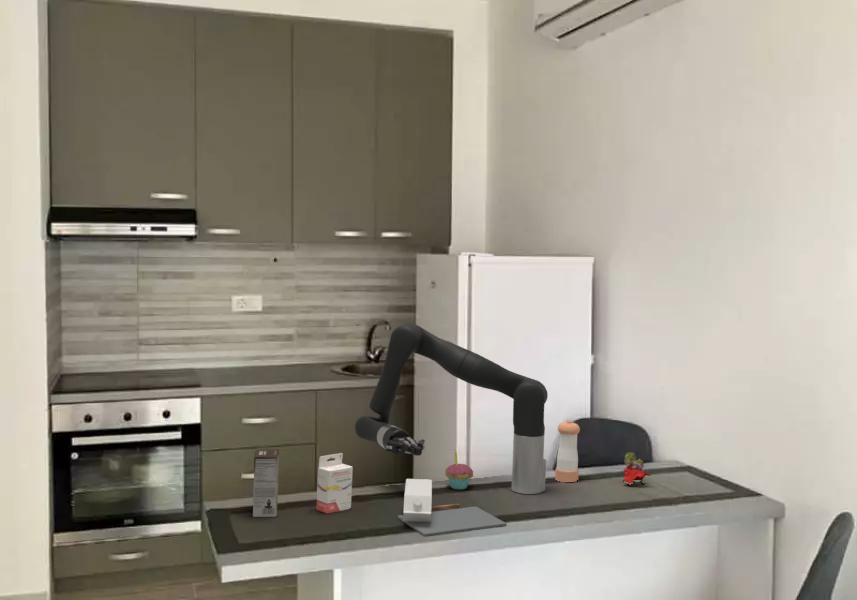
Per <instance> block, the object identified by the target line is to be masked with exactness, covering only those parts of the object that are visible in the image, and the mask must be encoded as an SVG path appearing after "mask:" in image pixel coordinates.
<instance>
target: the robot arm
mask: <svg viewBox="0 0 857 600" xmlns="http://www.w3.org/2000/svg"><path fill="white" fill-rule="evenodd" d="M413 353H414V354H417V355H420V356H422V357H424V358H428V359H430V360H432V361H433V362H435V363H436V364H438V366H440V368H442V369H443V370H445V371H446V372H447V373H449V374H450V375H451V376H453V377H455V378H457V379H459V380H461V381H464V382H465V383H468V384H470V385H472V386H475V387H480V388H483V389H487V390H491V391H496V392H499V393H501V394H504V395H505V396H508V397H510V399H513V406H512V423H513V440H512V441H513V442H512V444H513V445H512V446H513V447H512V466H511V467H512V468H511V470H512V471H511V490H512V491H513V492H515V493H517V494H518V493H519V494H524V495H537V494H540V493H542V492H546V474H547V473H546V472H547V470H546V469H547V459H545V458H544V456H545V455H544V454H545V453H544V452H545V433H546V432H545V431H546V429H545V404H546V402H547V401H548V391H547V388H546V386H545V385H544V383H542V382H541V381H540V380H537V379H534V378H530V377H528V376H525V375H522V374H520V373H517V372H513V371H511V370H509V369H506V368H504V367H503V366H501V365H499V364H498V363H495V362H494V361H492V360H490V359H488V358H486V357H484V356H482V355H480V354H478V353H476V352H474V351H472V350H469V349H466V348H464V347H462V346H460V345H458V344H455V343H452V342H449V341H446V340H445V339H442V338H440V337H438V336H436V335H435V334H433V333H431V332H430V331H428V330H426V329H424V328H423V327H421V326H419V325H417V324H415V323H411V322H409V323H404V324H401V325H399V326H396V328H394V329H393V331H392V332H391V335H390V339H389V343H388V348H387V352H386V357H385V359H384V360H385V361H384V363H383V367H382V371H381V373H380V375H379V379H378V380H377V381H378V382H377V384H376V386H375V389H374V391H373V393H372V396H371V399H370V402H369V409H370V410H371V411H373V413H376V414H378V417H374V416H369V415H361V416H360V417H358V418H357V419H356V421H355V424H354V431H355V433H356V435H357V436H358V437H359V438H360V439H363V440H367V441H370V442H373V443H375V444H377V445H378V446H381V448H383V449H384V450H385V451H386V452H390V453H392V454H394V455H402V454H409V455H410V454H411V455H414V456H421V455H422V453H423V450H425V448H426V447H425V443H426V439H423V438H422V439H420V440H419V439H418V441H417V440H416V439H414V438H412V437H411V435H410V433H408V431H406V430H404V429H403V428H400V427H398V426H395V425H392V424H390V417H391V411H392V408H393V406H394V402H395V401H396V397H397V395H398V393H399V389H400V384H401V377H402V374H403V370H404V368H405V366H406V363H407V362H408V360H409V358H410V357H411V355H412V354H413Z"/></svg>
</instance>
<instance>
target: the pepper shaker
mask: <svg viewBox="0 0 857 600" xmlns="http://www.w3.org/2000/svg"><path fill="white" fill-rule="evenodd" d="M557 430H558V432H559V446H558V450H557V451H558V452H557V454H556V455H557V456H556V467H555V470H554V471H555V473H554V480H555V481H556V480H557V482H559V481H560V482H559V483H564V482H574V481H577V480H578V481H579V473H580V470H579V469H578V468H579V467H578V466H579V465H578V464H579V456H578V434H579V433H580V431H581V428H580V426H579V424H578V423H575V422H573V421H572V420H570V419H568V420H566V421H563V422H561V423H559V425H557Z"/></svg>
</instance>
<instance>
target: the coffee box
mask: <svg viewBox="0 0 857 600" xmlns="http://www.w3.org/2000/svg"><path fill="white" fill-rule="evenodd" d="M279 465H280V449H279V448H270V449H268V448H267V449H266V448H264V449H262V448H261V449H258V448H257V449H255V451H254V456H253V490H252V491H253V493H252V495H253V497H252V500H253V501H252V503H253V504H252V517H253V518H269V517H270V518H271V517H272V518H273V517H274V518H275V517H277V515H278V502H279V501H278V496H279V469H280V468H279Z"/></svg>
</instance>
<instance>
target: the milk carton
mask: <svg viewBox="0 0 857 600" xmlns="http://www.w3.org/2000/svg"><path fill="white" fill-rule="evenodd" d="M432 487H433V480H432V479H425V478H423V479H422V478H419V479H418V478H406V479H405V486H404V494H403V495H404V498H403V514H402V515H403V521H407V522H431V507H432V504H433V503H432V501H433V497H432V495H433V488H432ZM403 521H402V522H403Z"/></svg>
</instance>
